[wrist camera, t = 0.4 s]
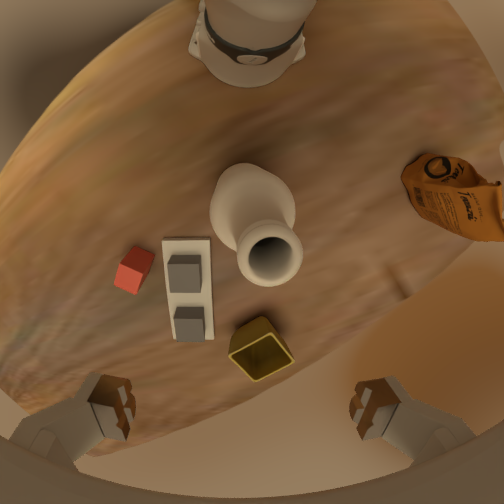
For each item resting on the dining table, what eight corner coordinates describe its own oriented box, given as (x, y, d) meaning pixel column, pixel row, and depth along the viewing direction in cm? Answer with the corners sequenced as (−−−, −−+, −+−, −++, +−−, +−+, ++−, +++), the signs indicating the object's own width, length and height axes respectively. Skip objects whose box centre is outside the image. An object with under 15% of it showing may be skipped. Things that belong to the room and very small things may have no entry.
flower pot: (287, 333, 55) (296, 362, 47) (250, 353, 56) (254, 383, 48) (264, 303, 52) (271, 331, 44) (226, 325, 53) (226, 355, 45)
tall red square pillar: (128, 264, 47) (113, 284, 40) (134, 245, 46) (119, 263, 39) (148, 273, 48) (136, 295, 41) (155, 254, 47) (142, 273, 40)
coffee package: (425, 146, 44) (511, 157, 23) (447, 197, 48) (525, 226, 27) (393, 173, 45) (480, 195, 25) (418, 224, 49) (495, 265, 29)
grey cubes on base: (163, 238, 46) (156, 248, 41) (210, 237, 47) (208, 248, 42) (174, 334, 53) (170, 351, 48) (214, 334, 54) (213, 352, 49)
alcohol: (280, 197, 46) (361, 274, 18) (235, 226, 47) (248, 341, 19) (252, 152, 43) (297, 154, 15) (205, 182, 44) (166, 239, 16)
